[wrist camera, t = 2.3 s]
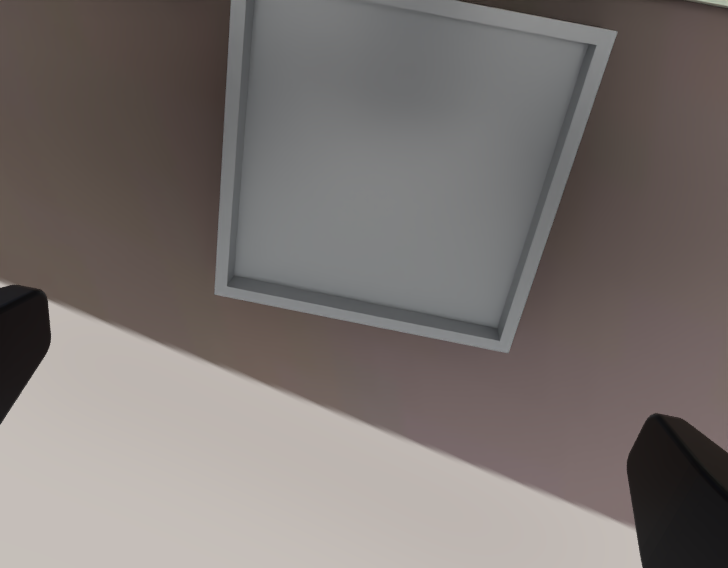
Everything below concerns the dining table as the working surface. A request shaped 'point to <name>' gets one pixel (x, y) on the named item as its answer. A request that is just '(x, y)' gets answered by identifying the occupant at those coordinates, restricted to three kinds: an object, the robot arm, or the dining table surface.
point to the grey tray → (399, 158)
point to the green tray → (713, 2)
